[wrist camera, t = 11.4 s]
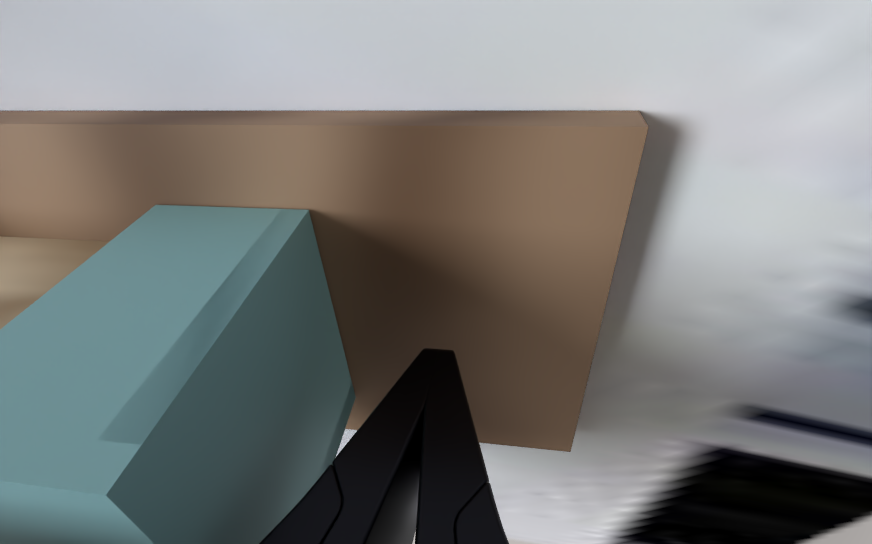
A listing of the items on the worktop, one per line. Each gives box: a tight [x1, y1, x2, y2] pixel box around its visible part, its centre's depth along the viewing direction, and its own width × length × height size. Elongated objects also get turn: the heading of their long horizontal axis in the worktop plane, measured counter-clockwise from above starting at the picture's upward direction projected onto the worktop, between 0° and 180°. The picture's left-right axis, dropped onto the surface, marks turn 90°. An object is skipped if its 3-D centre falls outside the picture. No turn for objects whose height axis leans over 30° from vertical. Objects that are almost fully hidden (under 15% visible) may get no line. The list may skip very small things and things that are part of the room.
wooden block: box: [0, 236, 110, 329], centre depth 11 cm, size 10×4×4 cm, turn 93°
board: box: [0, 111, 648, 452], centre depth 13 cm, size 21×10×1 cm, turn 93°
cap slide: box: [0, 205, 356, 544], centre depth 9 cm, size 4×6×6 cm, turn 3°
